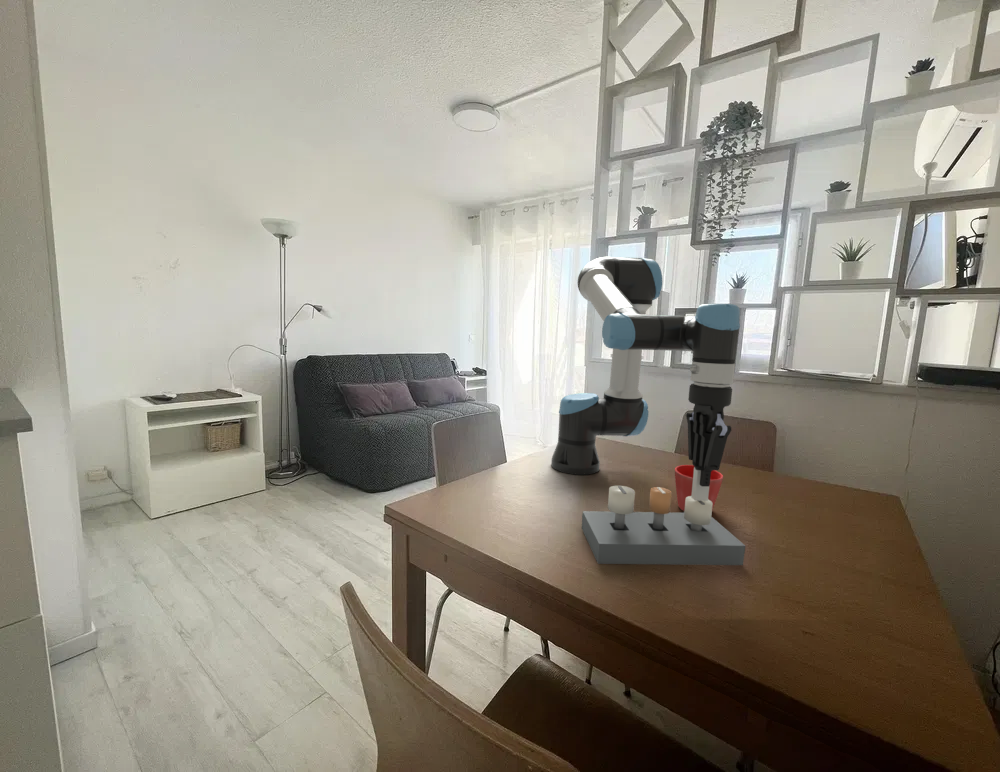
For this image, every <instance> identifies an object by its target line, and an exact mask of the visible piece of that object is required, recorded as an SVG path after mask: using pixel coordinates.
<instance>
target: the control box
mask: <svg viewBox="0 0 1000 772" xmlns="http://www.w3.org/2000/svg"><path fill="white" fill-rule="evenodd" d="M581 517H582V518H581V530H582V533H583V534H584V536H585V539H586V541H587V543H588V546H589V547H590V550H591V552H592V554H593V556H594V558H595V560H596V561H595V562H596V563H597V564H598V565H599V564H606V565H607V564H608V565H609V564H610V565H615V564H617V565H677V566H680V565H682V566H683V565H691V566H692V565H693V566H695V565H696V566H704V565H705V566H744V561H745V554H746V553H745V552H746V551H745V550H746V545H745V544H744V543H743V542H742V541H741V540H739V539H738V537H736V536H735V535H733V534H732V533H731V532H730V530H728V529H726V528H725V527H724V526H723V525H722V524H721V523H719V522H718V520H716V519H715V518H714V517H712V516H711V523H710V524H708V525H702V530H701V531H691V522H688V521H687V520H685V519H684V512H673V511H672V512H671V511H670V512H669V513H668V514H664V523H663V529H655V528H654V527H653V517H654V512H653V511H633V513H631V514H625V526H624V528H623V529H618V528H616V527H614V522H615V513H614V512H612V511H610V510H609V511H608V510H607V511H599V510H598V511H597V510H595V511H591V510H582V515H581Z"/></svg>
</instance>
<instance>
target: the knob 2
mask: <svg viewBox="0 0 1000 772" xmlns="http://www.w3.org/2000/svg"><path fill="white" fill-rule="evenodd" d="M712 505H713V503H712V502H711V501H710V500H708V501H695V500H694V499H692V498H691V496H688V497H686V500H685V510H684V511H683V513H684V519H685V520H687V521H688V522H691V531H701V530H702V525H708V524H710V523H711V517H712V512H713V510H712Z"/></svg>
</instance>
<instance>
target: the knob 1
mask: <svg viewBox="0 0 1000 772" xmlns="http://www.w3.org/2000/svg"><path fill="white" fill-rule="evenodd" d="M635 491H636V490H634V489H633V488H631V487H629V486H626V485H612V486H609V488H608V500H607V501H608V502H607V503H608V504H607V509H608V510H609V512H614V513H615V522H614V527H616V528H618V529H623V528H624V526H625V514H631V513H633V512H634V510H635V509H634V507H635V506H634V505H635V496H636V492H635Z"/></svg>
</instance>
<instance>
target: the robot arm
mask: <svg viewBox="0 0 1000 772" xmlns="http://www.w3.org/2000/svg"><path fill="white" fill-rule="evenodd" d="M577 288H578V291H579V293H580V295H581V296H582V297H583V299H585V300H586V301H587V302H590V303H591V305H592V306H593V308H594V309H595V311H596V312H597V314H598V315H599V316H600V318H601V321H603V322H602V323H603V324H602V330H601V337H602V340H603V345H604V346H605V347H606V348H608V349H612V352H611V353H612V356H611V366H610V379H609V387H608V388H607V389H605V391H604V392H603V398H599V395H598V394H597V393H592V392H581V393H578V392H577V393H572V394H571V393H570V394H568V395H565V396H564V397H562V398H561V400H560V404H559V410H558V414H559V415H558V416H559V417H558V418H559V419H558V433H557V434H558V437H557V438H558V439H557V444H556V446H555V448H554V452H553V454H552V457H551V467H552V469H554V470H556V471H559V472H560V473H563V474H564V473H565V474H568V475H569V474H571V475H577V476H580V475H593V474H596V473H597V472H599V471H600V465H601V464H600V458H599V454H598V450H597V447H596V437H597V436H601V437H603V436H607V437H609V436H611V437H612V436H613V437H614V436H616V437H619V436H620V437H621V436H622V437H628V436H629V437H630V436H631V437H632V436H638V435H641V433H642V432H643V431H644V430H645V428H646V426H647V423H648V420H649V406H648V405H649V404H648V403H647V401H646V400H645V399H643V397H644V396H643V394H642V392H640V390H639V385H640V384H639V383H640V376H641V375H640V374H641V364H642V355H643V354H642V353H643V351H646V350H647V351H672V352H673V351H674V352H676V351H679V352H692V359H691V366H690V368H689V371H690V381H691V382H692V383H691V384H690V385H689V389H688V402H689V403H691V404H693V405H694V406H693V409H692V410H693V411H692V412H686V414H685V417H686V421H687V438H688V439H687V442H688V444H687V448H688V450H687V451H688V457H687V458H688V460H689V461H691V462H692V464H691V465H693V466H694V474H693V484H692V495H691V498H692V499H694V500H695V501H708V495H709V485H710V477H711V471H712V470H715V471H719V470H720V466H721V463H722V459H723V456H724V455H723V454H724V452H725V448H726V444H727V440H728V437H729V435H730V434H731V432H732V427H731V425H726V424H725V421H724V420H725V412H724V409H725V407H729V406H730V405H731V404H732V394H733V388H732V386H730V385H733V384H734V378H735V367H736V358H737V349H738V343H739V342H738V341H739V335H740V334H739V331H740V327H741V323H740V316H741V314H740V313H741V309H740V307H739V306H738V305H736V304H732V303H703V304H700V305H699V306H698V307H697V309H696V313H695V315H665V314H663V315H662V314H647V311H648V310H649V309H650V308H651V307H652V306H653V301H654V300H657V299H658V298H659V297H660V295H661V291H662V289H663V273H662V269H661V267H660V265H659V263H658V262H657V260H654V259H653V258H646V257H645V258H644V257H621V256H619V257H618V256H617V257H616V256H615V257H614V256H612V257H611V256H603V257H598V258H595V259H593V260H591V261H590V262H588V263H587V264H585V266H583V268H582V269H581V270H580V271H579V274H578V277H577Z"/></svg>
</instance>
